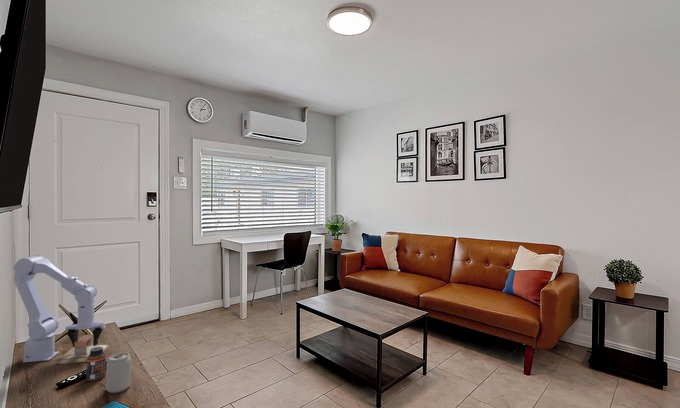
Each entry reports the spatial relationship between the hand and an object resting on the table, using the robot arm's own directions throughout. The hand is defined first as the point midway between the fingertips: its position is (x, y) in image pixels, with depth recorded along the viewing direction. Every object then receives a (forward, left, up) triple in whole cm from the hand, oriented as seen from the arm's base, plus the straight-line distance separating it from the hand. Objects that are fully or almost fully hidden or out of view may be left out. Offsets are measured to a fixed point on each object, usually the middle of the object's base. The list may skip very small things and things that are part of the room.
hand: (85, 345), depth 149 cm
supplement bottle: (+13, -23, -4) cm, 27 cm away
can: (+24, -33, -4) cm, 41 cm away
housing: (0, 0, -3) cm, 3 cm away
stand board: (0, 0, -4) cm, 4 cm away
